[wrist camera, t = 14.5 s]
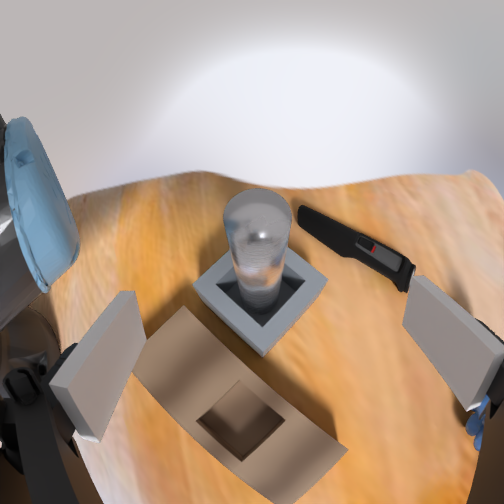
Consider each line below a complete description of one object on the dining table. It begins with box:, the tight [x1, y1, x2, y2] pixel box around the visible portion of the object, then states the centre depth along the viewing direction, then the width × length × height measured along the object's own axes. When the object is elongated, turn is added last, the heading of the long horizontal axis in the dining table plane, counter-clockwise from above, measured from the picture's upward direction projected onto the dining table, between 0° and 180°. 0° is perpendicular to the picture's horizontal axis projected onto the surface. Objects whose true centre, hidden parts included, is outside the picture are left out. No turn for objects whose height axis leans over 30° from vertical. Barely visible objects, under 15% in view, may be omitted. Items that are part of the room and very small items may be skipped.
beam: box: [132, 305, 348, 504], centre depth 23 cm, size 20×8×4 cm, turn 47°
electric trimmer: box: [298, 205, 416, 293], centre depth 31 cm, size 4×16×3 cm, turn 56°
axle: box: [223, 188, 292, 315], centre depth 22 cm, size 4×4×15 cm
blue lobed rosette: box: [466, 395, 490, 451], centre depth 18 cm, size 12×7×12 cm, turn 165°
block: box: [192, 246, 328, 358], centre depth 28 cm, size 8×8×5 cm
